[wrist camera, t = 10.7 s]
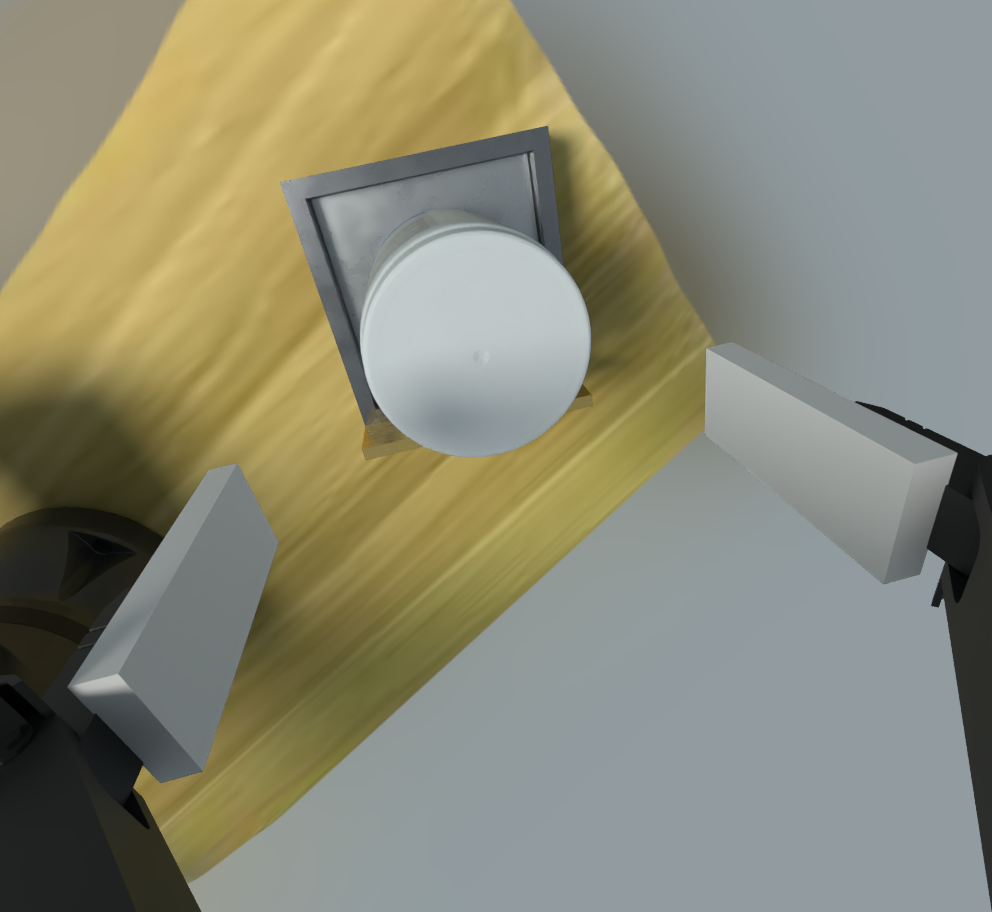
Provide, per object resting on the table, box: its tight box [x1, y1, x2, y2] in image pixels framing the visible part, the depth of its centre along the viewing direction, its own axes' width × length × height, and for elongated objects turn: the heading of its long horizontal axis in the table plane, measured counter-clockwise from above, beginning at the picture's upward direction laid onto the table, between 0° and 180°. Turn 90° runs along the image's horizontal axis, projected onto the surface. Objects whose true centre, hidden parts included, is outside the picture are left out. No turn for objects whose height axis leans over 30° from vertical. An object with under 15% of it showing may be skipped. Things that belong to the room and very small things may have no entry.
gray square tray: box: [280, 126, 593, 460], centre depth 32 cm, size 15×16×8 cm
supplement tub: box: [360, 208, 591, 457], centre depth 26 cm, size 10×10×15 cm
